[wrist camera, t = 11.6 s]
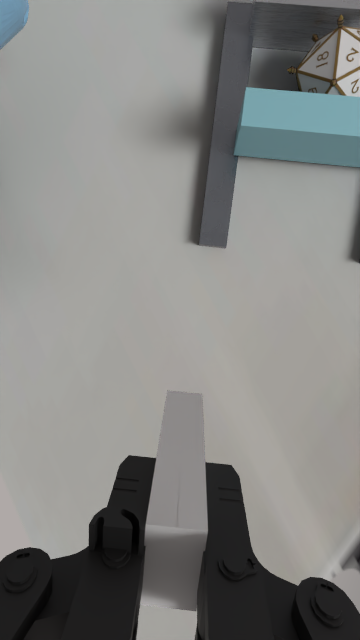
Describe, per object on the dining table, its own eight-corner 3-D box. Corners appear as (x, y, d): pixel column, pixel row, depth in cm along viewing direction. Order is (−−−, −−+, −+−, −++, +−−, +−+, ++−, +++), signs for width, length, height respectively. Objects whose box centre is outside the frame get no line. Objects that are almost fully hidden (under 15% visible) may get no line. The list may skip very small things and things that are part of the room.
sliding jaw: (233, 155, 36) (241, 125, 29) (237, 124, 35) (246, 87, 28) (389, 170, 35) (436, 143, 28) (395, 139, 35) (444, 104, 27)
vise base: (199, 245, 39) (198, 240, 33) (227, 13, 36) (231, -39, 30) (386, 266, 38) (420, 264, 32) (433, 28, 35) (480, -23, 29)
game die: (298, 103, 40) (295, -3, 31) (382, 91, 36) (403, -31, 28) (286, 158, 37) (278, 57, 28) (377, 151, 33) (399, 34, 25)
